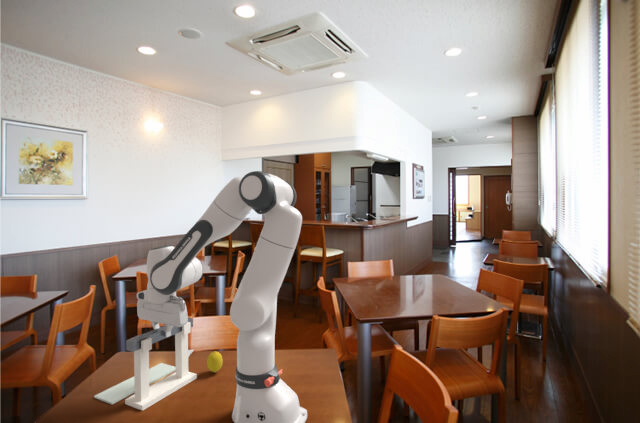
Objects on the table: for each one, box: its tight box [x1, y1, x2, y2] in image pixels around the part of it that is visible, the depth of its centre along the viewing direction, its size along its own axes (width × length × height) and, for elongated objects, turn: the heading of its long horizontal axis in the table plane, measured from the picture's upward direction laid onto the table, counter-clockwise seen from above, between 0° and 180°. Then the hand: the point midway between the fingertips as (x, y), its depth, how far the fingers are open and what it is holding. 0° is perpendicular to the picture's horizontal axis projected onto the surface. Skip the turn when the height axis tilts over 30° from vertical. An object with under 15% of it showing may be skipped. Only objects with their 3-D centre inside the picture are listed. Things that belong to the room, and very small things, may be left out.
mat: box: [93, 362, 176, 405], centre depth 125 cm, size 9×26×1 cm, turn 154°
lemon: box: [206, 350, 224, 373], centre depth 132 cm, size 6×6×8 cm
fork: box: [188, 349, 194, 358], centre depth 142 cm, size 3×21×3 cm, turn 9°
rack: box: [124, 322, 198, 411], centre depth 119 cm, size 8×22×20 cm, turn 154°
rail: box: [125, 317, 194, 353], centre depth 119 cm, size 3×24×3 cm, turn 154°
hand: (162, 335), depth 119 cm, fingers open, 3 cm apart
